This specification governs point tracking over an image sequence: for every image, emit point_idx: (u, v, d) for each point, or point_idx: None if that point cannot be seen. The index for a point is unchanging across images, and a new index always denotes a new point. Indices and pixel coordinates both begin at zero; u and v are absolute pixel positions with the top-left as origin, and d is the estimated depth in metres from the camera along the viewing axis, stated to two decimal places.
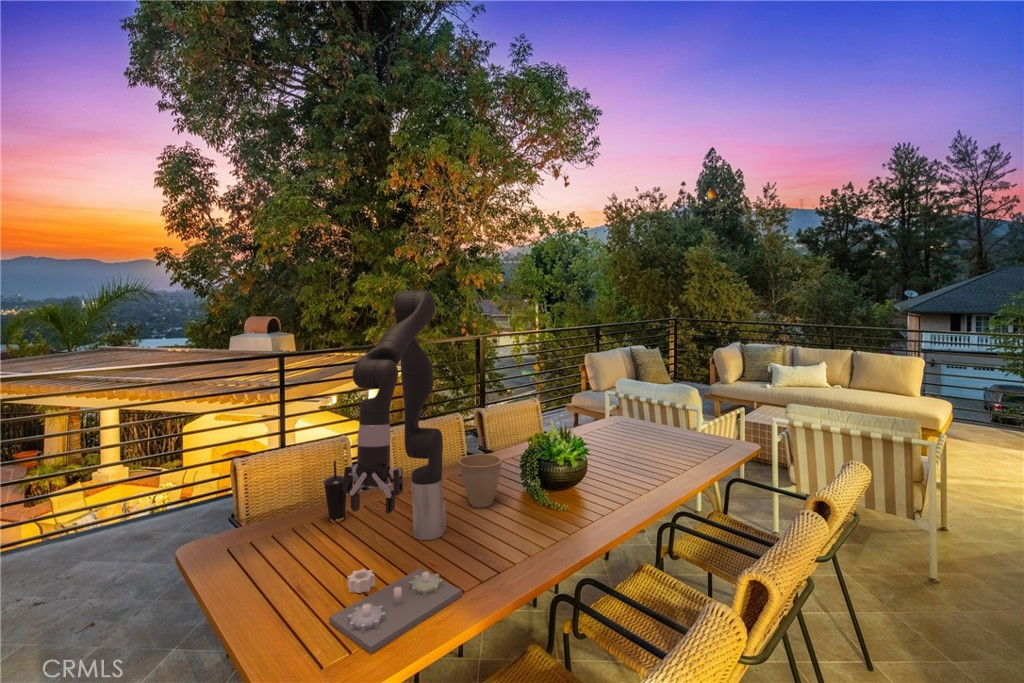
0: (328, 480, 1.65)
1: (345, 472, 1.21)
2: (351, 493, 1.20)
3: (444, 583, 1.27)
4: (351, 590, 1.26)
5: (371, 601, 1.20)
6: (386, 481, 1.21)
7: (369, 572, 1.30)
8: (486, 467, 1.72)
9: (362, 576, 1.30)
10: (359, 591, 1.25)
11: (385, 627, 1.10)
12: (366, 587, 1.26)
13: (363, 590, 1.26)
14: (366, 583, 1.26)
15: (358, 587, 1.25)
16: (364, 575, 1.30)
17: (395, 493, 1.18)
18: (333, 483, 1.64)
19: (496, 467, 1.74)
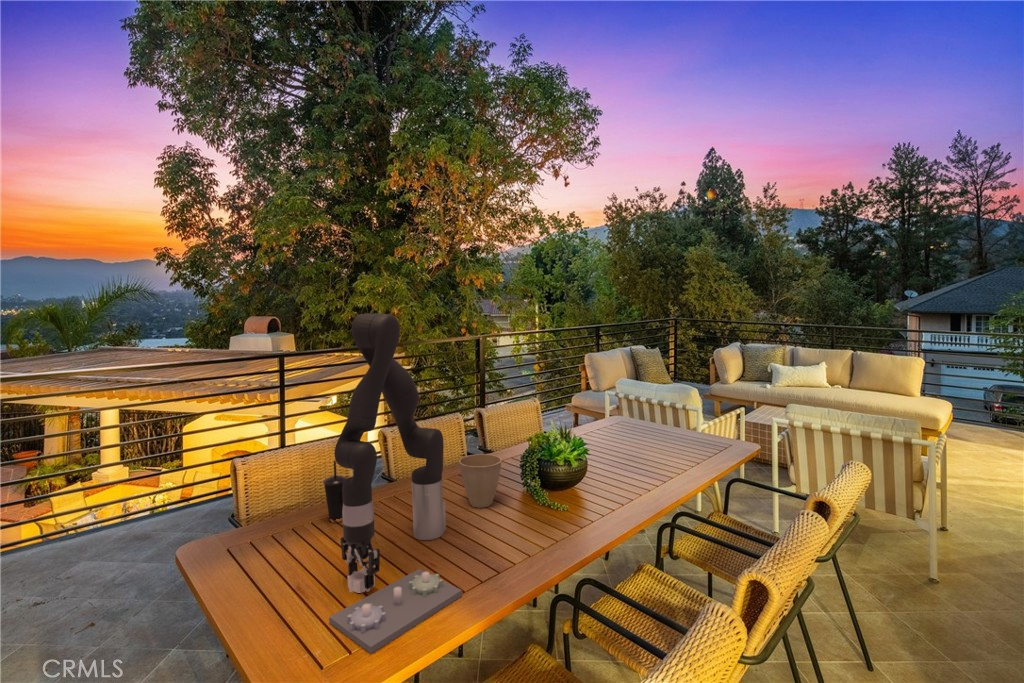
0: (328, 480, 1.65)
1: (341, 542, 1.31)
2: (347, 563, 1.30)
3: (444, 583, 1.27)
4: (351, 590, 1.26)
5: (371, 601, 1.20)
6: None
7: None
8: (486, 467, 1.72)
9: (362, 576, 1.30)
10: (359, 591, 1.25)
11: (385, 627, 1.10)
12: None
13: (363, 590, 1.26)
14: None
15: (358, 587, 1.25)
16: None
17: (369, 573, 1.24)
18: (333, 483, 1.64)
19: (496, 467, 1.74)
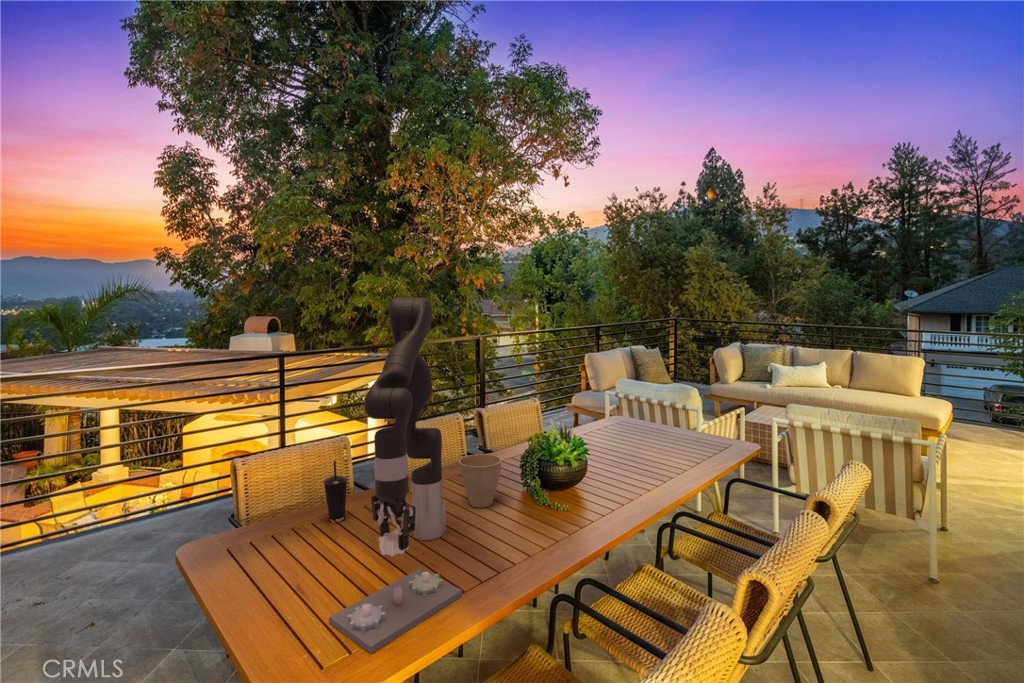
0: (328, 480, 1.65)
1: (372, 501, 1.20)
2: (378, 523, 1.19)
3: (444, 583, 1.27)
4: (383, 552, 1.15)
5: (371, 601, 1.20)
6: None
7: None
8: (486, 467, 1.72)
9: (394, 538, 1.19)
10: (392, 553, 1.14)
11: (385, 627, 1.10)
12: None
13: (396, 552, 1.15)
14: None
15: (391, 548, 1.14)
16: (397, 537, 1.19)
17: (404, 532, 1.13)
18: (333, 483, 1.64)
19: (496, 467, 1.74)
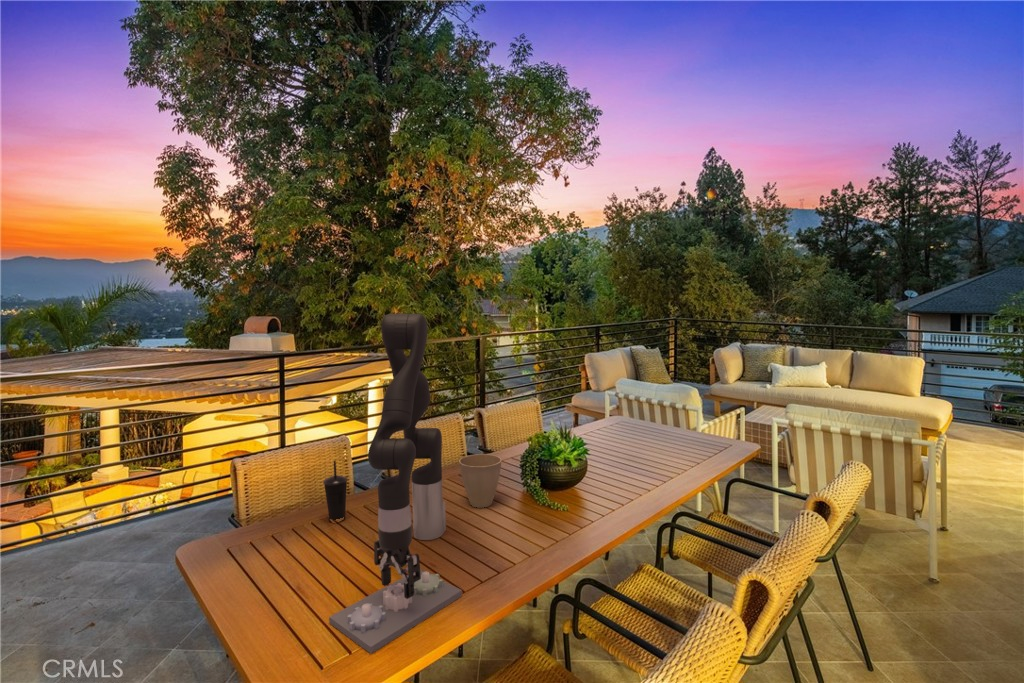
0: (328, 480, 1.65)
1: (375, 546, 1.21)
2: (380, 568, 1.20)
3: (444, 583, 1.27)
4: (387, 607, 1.16)
5: (371, 601, 1.20)
6: None
7: None
8: (486, 467, 1.72)
9: None
10: (396, 608, 1.16)
11: (385, 627, 1.10)
12: (403, 604, 1.17)
13: (400, 607, 1.16)
14: (404, 599, 1.16)
15: (395, 604, 1.15)
16: None
17: (409, 581, 1.13)
18: (333, 483, 1.64)
19: (496, 467, 1.74)
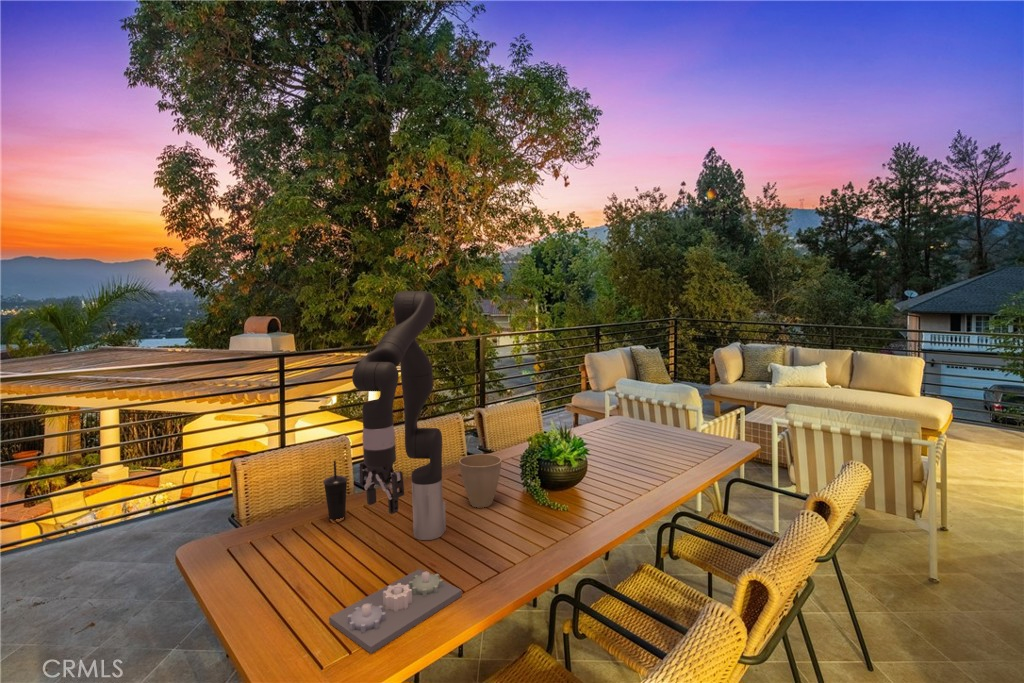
0: (328, 480, 1.65)
1: (360, 467, 1.26)
2: (365, 488, 1.25)
3: (444, 583, 1.27)
4: (387, 607, 1.16)
5: (371, 601, 1.20)
6: None
7: (406, 587, 1.20)
8: (486, 467, 1.72)
9: None
10: (396, 608, 1.16)
11: (385, 627, 1.10)
12: (403, 604, 1.17)
13: (400, 607, 1.16)
14: (404, 599, 1.16)
15: (395, 604, 1.15)
16: None
17: (393, 496, 1.18)
18: (333, 483, 1.64)
19: (496, 467, 1.74)
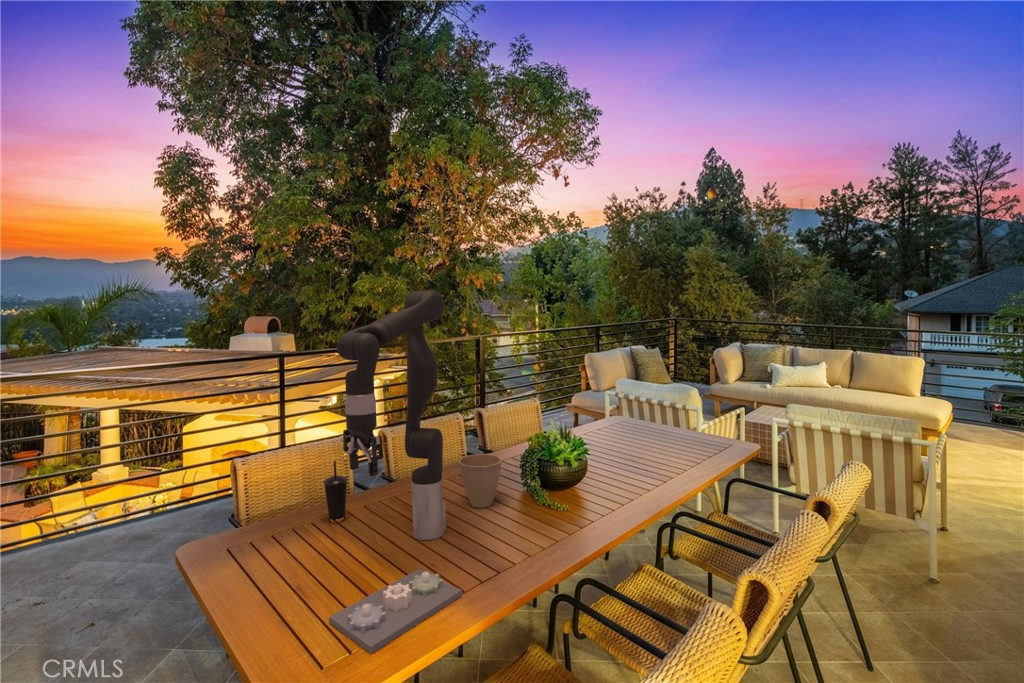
0: (328, 480, 1.65)
1: (343, 434, 1.34)
2: (348, 453, 1.33)
3: (444, 583, 1.27)
4: (387, 607, 1.16)
5: (371, 601, 1.20)
6: None
7: (406, 587, 1.20)
8: (486, 467, 1.72)
9: None
10: (396, 608, 1.16)
11: (385, 627, 1.10)
12: (403, 604, 1.17)
13: (400, 607, 1.16)
14: (404, 599, 1.16)
15: (395, 604, 1.15)
16: None
17: (373, 459, 1.26)
18: (333, 483, 1.64)
19: (496, 467, 1.74)
